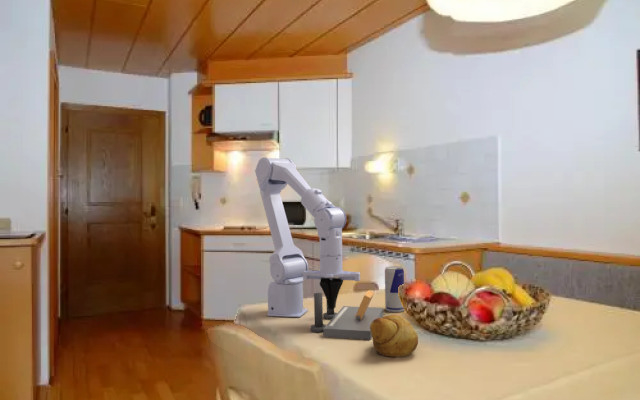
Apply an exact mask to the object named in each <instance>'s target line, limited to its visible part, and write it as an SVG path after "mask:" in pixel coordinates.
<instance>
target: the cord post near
mask: <svg viewBox="0 0 640 400" xmlns="http://www.w3.org/2000/svg"><path fill="white" fill-rule="evenodd" d="M313 305H314V306H313V307H314V308H313V309H314V310H313V311H314V324H312V325H310V332H312V333H315V334H321V333H322V332H323V333H324V330H323V328H324V327H325V326H326V325H327V324H324V318H323V314H324V312H323V311H324V310H323V292H314V293H313Z"/></svg>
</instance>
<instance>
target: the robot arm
mask: <svg viewBox="0 0 640 400" xmlns="http://www.w3.org/2000/svg"><path fill="white" fill-rule="evenodd" d="M254 172H255V176H256V180H257V184H258V188H259V194H260V196H261V200H262V204H263V207H264V211H265V216H266V219H267V223H268V227H269V231H270V236H271V238H272V242H273V247H274V251H273V252H272V254H271V255H270V256H269V258H268V260H269V263H270V264H269V271H270V272H269V273H270V276H271V279H272V281H270V283H269V284H268V288H267V316H269V317H283V318H284V317H286V318H288V317H289V318H301V317H302V316H304V314H305V313H307V312H308V310H309V309H308V308H304V285H303V284H304V281H307V280H320V281H319V286H320V288H321V289H322V293H323V295H324V297H325V298H326V304H327V303H328V308H329V309H334V310H335V308H336V306H337V300H338V297H339V293H340V290H341V287H342V285H343V282H344V281H354V282H359V281H361V272H360V271H347V270H344V269H343V228H345V226H346V223H347V215H346V212H345V211H344V209H343V208H342V207H340V206H335V205H333V203H332V202H331V201H329V200H328V198H327V197H326V196H325V195H324V194H323V191H322V190H321V189H319V188H316V187H315V188H314V187H313V188H311V186H310V185H309V184H308V183H307V181H306V180H305V179H304V178H303V176H302V175H301V174H300V173H299V171H298V170H297V164H296V163H294V162H293V160H292V159H291V158H288V157H287V158H276V157H275V158H274V157H266V156H264V157H261V158H260V159H259V160H258V162H257V165H256V167H255V170H254ZM287 185H288V186H289V187H290V188H291V189H292V190H293V191H294V192H296V193H297V195H299V196H300V197H301V198H300V203H301V205H302V206H303V207H304V208H305V210H307V212H308V213H309V214H310V215H311V216H312V217H313V223H314V226H315V228H316V231H317V236H318V238H319V269H320V270H309V269H310V268H309V263H308V261H307V259H306V258H305V255H304V253H303V251H302V250H301V248H299V247H298V246H296V245H295V244H294V241H293V237H292V233H291V229H290V226H289V223H288V222H289V221H288V218H287V214H286V211H285V207H284V204H283V199H282V196H281V192H282V190H284V189H285V188H286V187H287Z"/></svg>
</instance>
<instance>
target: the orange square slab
mask: <svg viewBox="0 0 640 400" xmlns="http://www.w3.org/2000/svg"><path fill="white" fill-rule="evenodd" d="M374 294H375V292H374V291H372V290H367V291H366V293H365V294H364V295H363V297H362V300H361V303H360V305H359V306H358V307H359V309H358V311H357V314H356V316H355V317H356V319H357V320H361V319H362V318H363V316H364V315H365V313H366V311H367V308H368V307H369V305H370V303H371V302H372V299H373V296H374Z"/></svg>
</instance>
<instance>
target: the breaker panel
mask: <svg viewBox="0 0 640 400" xmlns="http://www.w3.org/2000/svg"><path fill="white" fill-rule="evenodd" d="M359 307H360V306H351V305H350V306H345V305H343V306H342V307H341V308H340V309H339V311H337V312H336V313H337V314H336V315H335V316H334V317H333V318H332V320H329V322H327V324H325V325H326V326H325V327H324V328H323V330H324V332H323V338H331V337H333V338H334V339H335V338H336V339H347V338H351V339H352V340H363V341H365V340H367V341H368V340H369V341H371V340H372V339H373V338H372V334H371V330H370V325H371V323H372V321H373V320H375V319H377V318H382V317H384V307H375V306H374V307H372V306H371V307H369V306H368V308H367V311H366V313H365V315H364V316H363V318H362V319H361V320H357V319H356V317H355V316H356V314H357V311H358V309H359ZM351 339H350V340H351Z"/></svg>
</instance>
